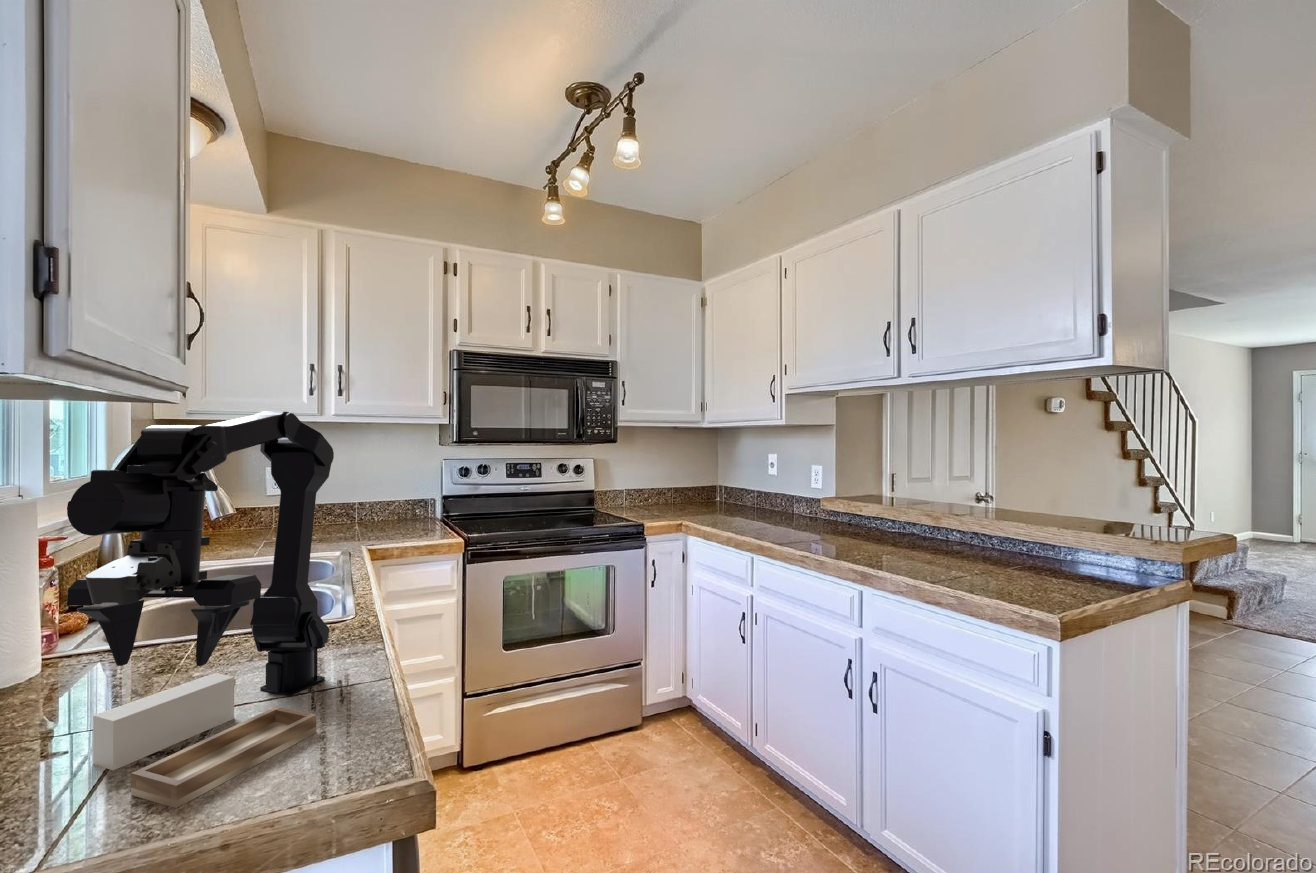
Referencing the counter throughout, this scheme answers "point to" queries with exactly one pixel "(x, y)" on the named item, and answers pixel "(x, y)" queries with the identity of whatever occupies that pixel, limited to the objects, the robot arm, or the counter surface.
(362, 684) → the counter surface
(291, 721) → the brown rectangular tray
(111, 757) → the white rectangular block
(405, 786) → the counter surface
